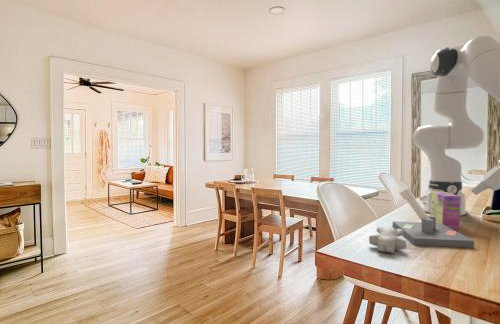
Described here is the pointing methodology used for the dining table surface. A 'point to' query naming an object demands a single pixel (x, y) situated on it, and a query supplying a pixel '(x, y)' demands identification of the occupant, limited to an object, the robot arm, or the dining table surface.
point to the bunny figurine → (388, 240)
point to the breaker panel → (432, 234)
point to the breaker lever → (415, 204)
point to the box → (446, 208)
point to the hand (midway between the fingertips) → (473, 192)
